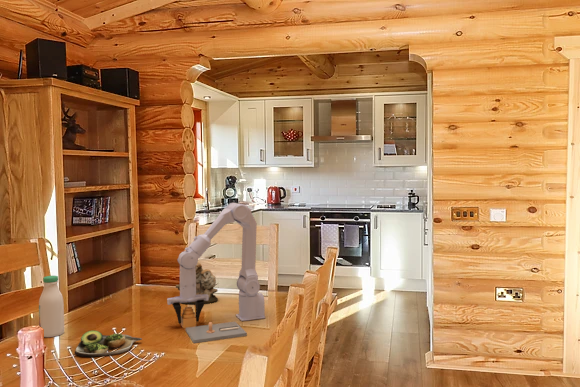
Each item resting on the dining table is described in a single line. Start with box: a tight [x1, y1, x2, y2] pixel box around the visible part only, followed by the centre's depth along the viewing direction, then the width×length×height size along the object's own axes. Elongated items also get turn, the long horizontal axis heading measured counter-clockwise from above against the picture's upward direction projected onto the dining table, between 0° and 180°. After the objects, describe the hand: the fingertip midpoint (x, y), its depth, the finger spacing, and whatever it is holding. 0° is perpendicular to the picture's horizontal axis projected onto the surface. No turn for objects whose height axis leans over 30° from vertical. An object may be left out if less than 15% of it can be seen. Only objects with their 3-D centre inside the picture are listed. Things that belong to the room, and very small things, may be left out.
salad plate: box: [74, 329, 143, 358], centre depth 155 cm, size 19×18×5 cm
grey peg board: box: [185, 321, 248, 344], centre depth 167 cm, size 18×14×4 cm
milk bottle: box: [38, 275, 65, 338], centre depth 167 cm, size 8×8×20 cm
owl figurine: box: [175, 261, 219, 306], centre depth 210 cm, size 18×12×17 cm, turn 94°
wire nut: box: [180, 306, 197, 329], centre depth 176 cm, size 5×5×7 cm
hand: (188, 322), depth 176 cm, fingers open, 6 cm apart
